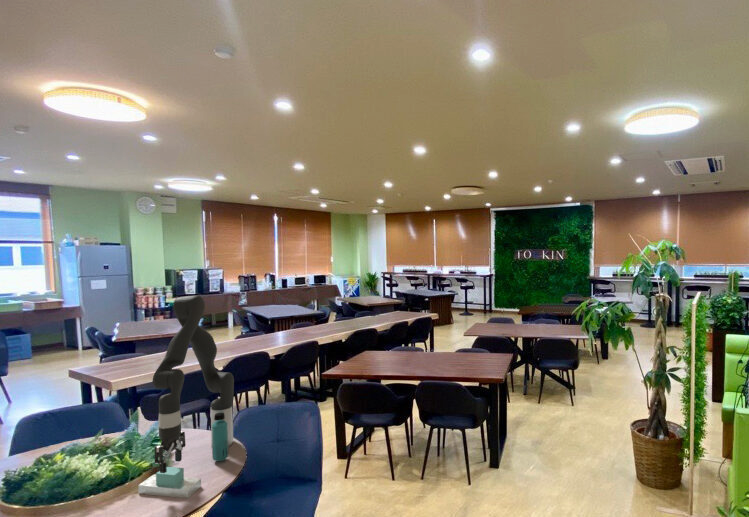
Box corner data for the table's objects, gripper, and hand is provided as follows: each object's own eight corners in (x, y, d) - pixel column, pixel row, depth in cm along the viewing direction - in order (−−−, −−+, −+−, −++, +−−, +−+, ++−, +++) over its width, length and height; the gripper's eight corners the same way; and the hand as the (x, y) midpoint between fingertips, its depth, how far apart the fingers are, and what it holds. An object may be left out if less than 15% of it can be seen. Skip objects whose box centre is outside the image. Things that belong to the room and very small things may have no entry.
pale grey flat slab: (153, 482, 162) (153, 474, 162) (200, 486, 158) (200, 478, 158) (138, 493, 154) (138, 485, 154) (187, 498, 150) (187, 489, 150)
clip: (156, 491, 154) (156, 473, 155) (165, 483, 160) (165, 466, 160) (174, 493, 153) (174, 475, 153) (183, 485, 158) (183, 468, 158)
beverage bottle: (223, 465, 175) (222, 416, 175) (208, 463, 176) (208, 415, 176) (231, 458, 181) (230, 411, 181) (217, 456, 182) (216, 410, 183)
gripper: (173, 415, 164) (174, 456, 164) (147, 430, 150) (148, 476, 150) (190, 416, 163) (191, 458, 163) (166, 431, 149) (167, 477, 149)
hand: (171, 466), depth 156 cm, fingers open, 8 cm apart
